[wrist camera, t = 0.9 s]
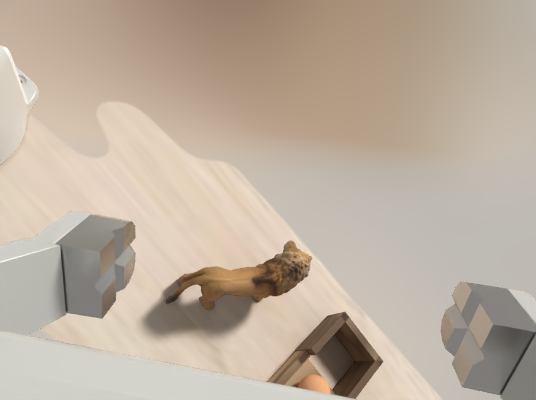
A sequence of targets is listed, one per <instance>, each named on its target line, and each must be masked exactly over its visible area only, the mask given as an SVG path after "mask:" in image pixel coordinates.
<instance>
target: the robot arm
mask: <svg viewBox="0 0 536 400" xmlns="http://www.w3.org/2000/svg"><path fill="white" fill-rule="evenodd" d="M38 97H39V91H38V88H37V86H36V85H35V84H34V83H33V82H32V81H31V80H30V79H29V78H28V77H27V76H26V75H25V74H24V73H23V72H21V71H20V70H19V69H18V68H17V67H16V66H15V64H14V62H13V59H12V56H11V54H10V52H9V50H8V49H7V48H6V47H2V46H1V45H0V164H1V163H3V162H4V161H5V160H7V159H8V158H9V157H10V156H11V155H12V154H13V153H14V152H15V150H16V149H17V148H18V146H19V145H20V143H21V141H22V139H23V137H24V134H25V130H26V123H27V116H28V112H29V111H30V109H31V108H32V107H33V105H34V104H35V103H36V101H37V99H38ZM134 239H135V225H134V224H133V222H131V221H126V220H121V219H116V218H111V217H106V216H101V215H96V214H93V213H87V212H80V211H70V212H69V213H67V214H66V215H65V216H63V217H62V218H61V219H59V220H58V221H56V222H55V223H54V224H52V225H51V226H49V227H48V228H47V229H45V230H44V231H43V232H41V233H40V234H38V235H37V236H36V237H34V238H33V239H32V240H30V239H21V240H17V241H13V242H9V243H5V244H1V245H0V400H358V399H353V398H348V397H342V396H337V395H332V394H327V393H322V392H317V391H311V390H306V389H301V388H296V387H291V386H286V385H280V384H275V383H270V382H265V381H260V380H255V379H249V378H244V377H239V376H234V375H229V374H223V373H218V372H213V371H208V370H203V369H198V368H192V367H187V366H182V365H177V364H172V363H167V362H161V361H156V360H151V359H146V358H141V357H136V356H130V355H125V354H120V353H115V352H110V351H105V350H99V349H94V348H89V347H84V346H79V345H74V344H68V343H63V342H58V341H53V340H48V339H42V338H37V337H32V336H28V335H30V334H32V333H33V332H35V331H37V330H39V329H41V328H42V327H44V326H46V325H48V324H50V323H52V322H53V321H55V320H57V319H59V318H61V317H62V316H64V315H66V313H71V314H77V315H83V316H90V317H96V318H103V317H104V316H105V314H106V313H107V312H108V310H109V309H110V307H111V306H112V305H113V303H114V302H115V301H116V292H118V291H120V290H122V289H124V288H125V287H126V286H127V284H128V283H129V281H130V279H131V276H132V274H133V271H134V266H135V252H134V250H133V249H132V247H131V246H130V244H131V243H132V241H133V240H134ZM452 296H453V299H454V302H455V304H454V305H453V306H451V307H450V308H448V309H447V310H446V311H445V314H444V316H443V319H442V325H441V336H442V341H443V344H444V346H445V348H446V349H447V350H448V351H449V352H450V353H451V354H452V355H453V356H454V357H455V358H454V360H453V362H452V365H453V367H454V369H455V372H456V374H457V376H458V379H459V381H460V383H461V385H462V387H464V388H469V389H474V390H478V391H483V392H487V393H492V394H497V395H501V398H502V399H503V400H536V300H535V299H534V298H533V297H532V296H531V295H530V294H528V293H527V292H524V291H519V290H511V289H505V288H499V287H492V286H486V285H480V284H473V283H466V282H460V283H459V284H458V285H457V286H456V288H455V290H454V292H453V295H452Z"/></svg>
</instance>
